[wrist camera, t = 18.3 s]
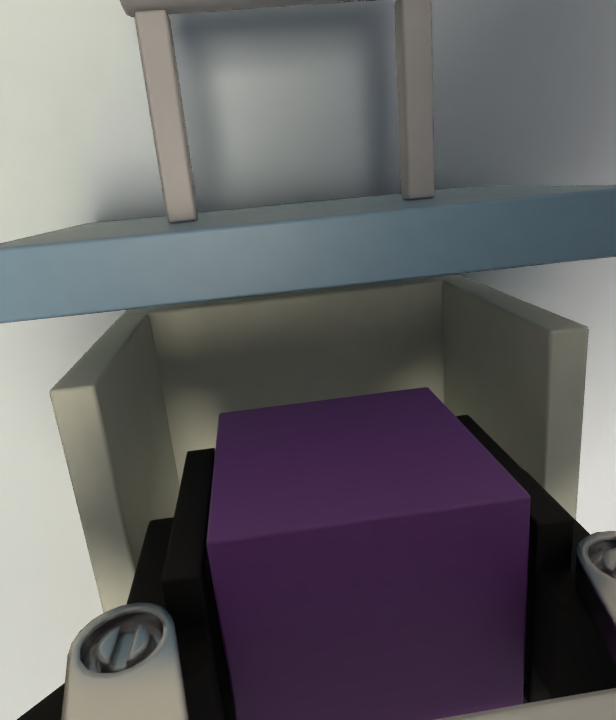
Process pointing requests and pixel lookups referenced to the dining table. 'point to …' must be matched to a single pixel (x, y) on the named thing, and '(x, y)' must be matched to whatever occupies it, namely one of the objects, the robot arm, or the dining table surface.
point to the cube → (366, 562)
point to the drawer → (301, 306)
